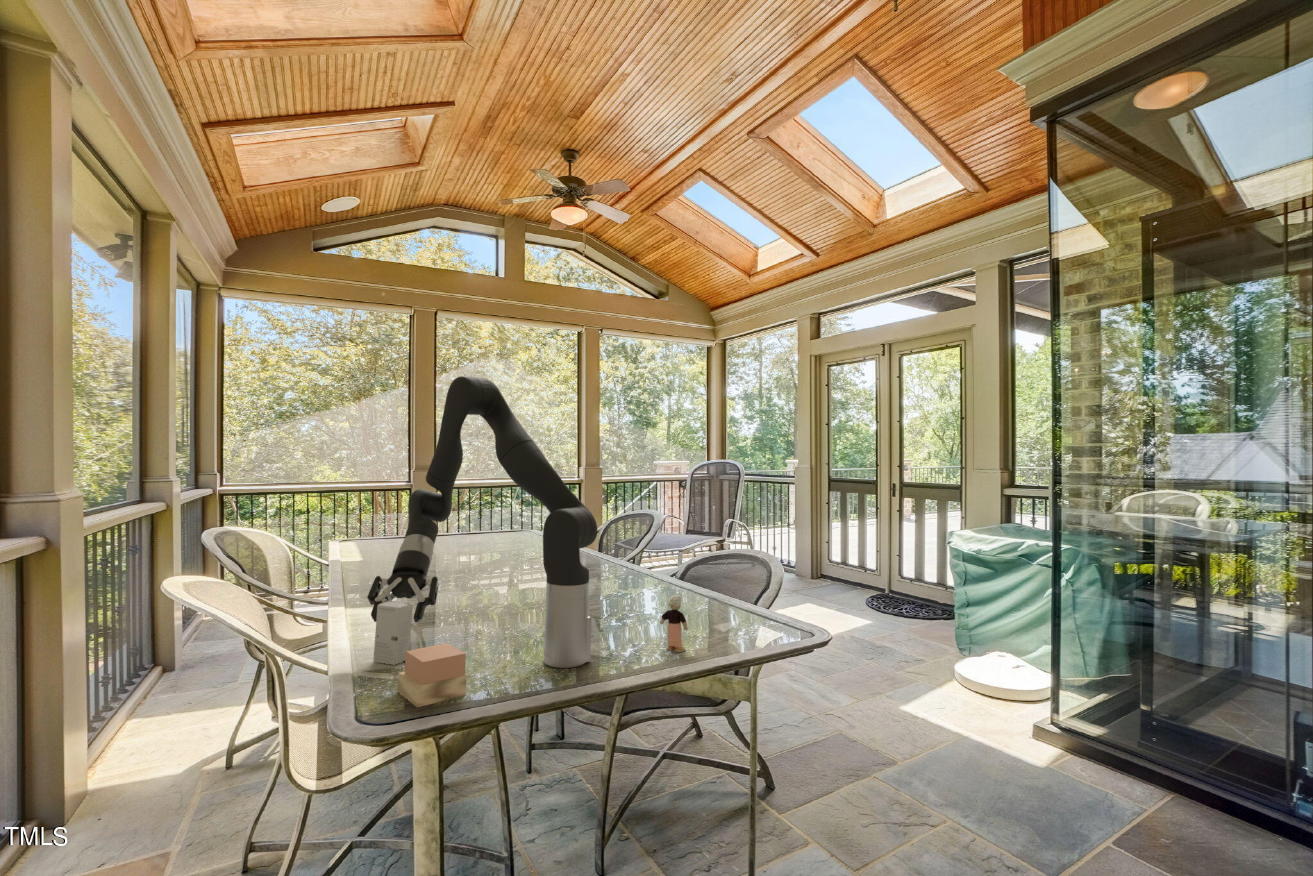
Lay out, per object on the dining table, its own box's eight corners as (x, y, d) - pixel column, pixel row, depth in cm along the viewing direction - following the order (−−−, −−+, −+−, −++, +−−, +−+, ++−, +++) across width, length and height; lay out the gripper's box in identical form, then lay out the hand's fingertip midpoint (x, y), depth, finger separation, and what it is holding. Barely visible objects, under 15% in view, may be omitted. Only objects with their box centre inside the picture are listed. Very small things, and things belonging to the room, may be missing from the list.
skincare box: (372, 662, 129) (374, 604, 129) (387, 656, 133) (390, 600, 134) (396, 666, 127) (398, 607, 127) (411, 659, 131) (413, 602, 132)
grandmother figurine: (691, 649, 144) (693, 595, 144) (685, 654, 140) (687, 598, 141) (662, 644, 147) (663, 591, 147) (655, 648, 143) (656, 594, 144)
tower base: (444, 683, 119) (445, 662, 119) (465, 697, 112) (466, 675, 113) (397, 694, 113) (398, 672, 113) (417, 709, 106) (417, 686, 106)
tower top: (446, 664, 118) (447, 643, 119) (465, 675, 113) (465, 653, 113) (404, 673, 113) (405, 651, 113) (421, 685, 107) (422, 662, 107)
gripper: (379, 548, 140) (357, 610, 129) (442, 549, 142) (426, 611, 130) (386, 567, 145) (365, 629, 134) (447, 568, 147) (432, 629, 135)
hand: (395, 620), depth 132 cm, fingers open, 8 cm apart
